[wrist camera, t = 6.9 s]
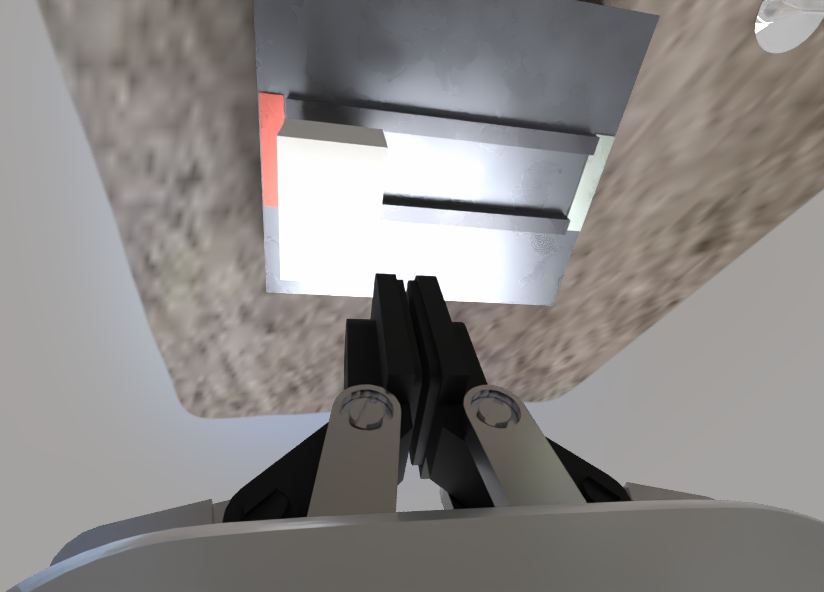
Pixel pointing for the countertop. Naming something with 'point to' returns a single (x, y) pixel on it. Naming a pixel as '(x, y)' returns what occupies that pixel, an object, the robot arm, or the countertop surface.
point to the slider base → (456, 127)
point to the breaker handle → (329, 200)
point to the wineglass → (787, 23)
